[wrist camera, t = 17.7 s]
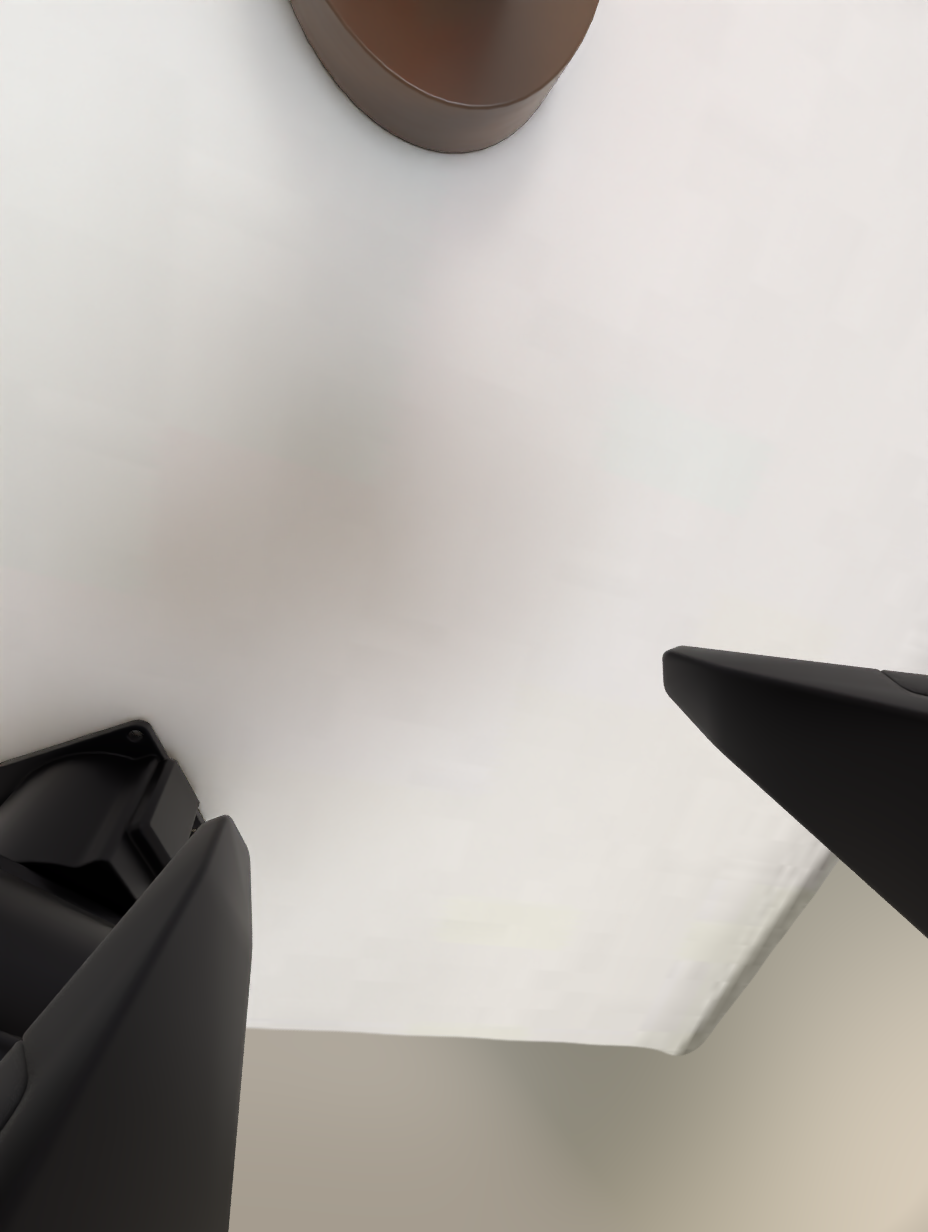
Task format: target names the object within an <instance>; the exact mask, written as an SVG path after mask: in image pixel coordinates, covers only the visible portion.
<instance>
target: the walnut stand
mask: <svg viewBox="0 0 928 1232" xmlns="http://www.w3.org/2000/svg"><path fill="white" fill-rule="evenodd" d="M290 2H291V5H292V8H293V10H294V13H295V15H296V17H297V19H298V21H299V23H300V25H301V27H302V29H303V31H304V33H305V35H306V37H307V39H308V41H309V43H310V44H311V46H312V47H313V49H314V51H315V52H316V54H317V56H318V57H319V59H320V61H321V62H322V64H323V65H324V67H325V68H326V70H327V71H328V72H329V74H330V75H331V76H332V78H333V79H334V80H335V82H336V83H337V84H338V86H339V87H340V88H341V89H342V90H343V91H344V92H345V94H346V95H347V96H348V97H349V98H350V99H351V100H352V101H353V102H354V103H355V104H356V106H357V107H359V108H360V109H361V110H362V111H363V112H364V113H365V114H367V115H368V116H369V117H370V118H371V119H372V120H373V121H375V122H376V123H377V124H379V125H380V126H382V127H383V128H385V129H386V130H388V131H389V132H391V133H392V134H393V135H395V136H397V137H399V138H401V139H403V140H405V141H407V142H409V143H411V144H414V145H417V146H420V147H423V148H426V149H429V150H434V151H441V152H447V153H463V152H470V151H475V150H481V149H484V148H487V147H489V146H492V145H494V144H497V143H499V142H500V141H502V140H504V139H505V138H507V137H509V136H510V135H512V134H513V133H514V132H516V131H517V130H518V129H519V128H520V127H521V126H522V125H524V124H525V123H526V122H527V121H528V119H529V118H530V117H531V116H532V115H533V113H534V112H535V111H536V110H537V109H538V107H539V106H540V104H541V103H542V102H543V100H544V99H545V97H546V96H547V94H548V93H549V91H550V90H551V88H552V87H553V85H554V84H555V82H556V81H557V79H558V78H559V76H560V75H561V74H562V72H563V71H564V69H565V68H566V66H567V65H568V63H569V62H570V60H571V59H572V57H573V56H574V54H575V52H576V51H577V49H578V48H579V46H580V44H581V43H582V41H583V39H584V37H585V35H586V33H587V31H588V28H589V26H590V24H591V22H592V20H593V17H594V14H595V11H596V8H597V6H598V3H599V0H290Z"/></svg>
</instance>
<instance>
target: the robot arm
mask: <svg viewBox="0 0 928 1232" xmlns="http://www.w3.org/2000/svg"><path fill="white" fill-rule="evenodd" d="M662 661H663V682H664V688H665V690H666V692H667V694H668V695H669V697H670V698H671V699H672V700H673V701H674V702H675V703H676V704H677V705H678V706H679V708H680V709H681V710H682V711H683V712H684V713H685V714H686V715H687V716H688V717H689V719H690V720H691V721H692V722H693V723H694V724H695V725H696V726H697V727H698V728H699V729H700V731H701V732H702V733H703V734H704V735H705V736H706V737H707V738H708V739H709V740H710V741H711V742H712V743H713V744H714V745H715V746H716V747H717V748H718V749H719V750H720V751H721V752H722V753H723V754H724V755H725V756H726V757H727V758H728V759H729V760H731V761H732V762H733V763H734V764H735V765H736V766H737V767H738V768H739V769H740V770H742V771H743V772H744V773H745V774H746V775H747V776H748V777H749V778H750V779H752V780H753V781H754V782H755V783H756V784H757V785H758V786H759V787H760V788H762V789H763V790H764V791H765V792H766V793H767V794H768V795H769V796H770V797H772V798H773V799H774V800H775V801H776V802H777V803H778V804H779V805H780V806H782V807H783V808H784V809H785V810H786V811H787V812H788V813H789V814H790V815H791V816H793V817H794V818H795V819H796V820H797V821H798V822H799V823H800V824H801V825H803V826H804V827H805V828H806V829H807V830H808V831H809V832H810V833H811V834H813V835H814V836H815V837H816V838H817V839H818V840H819V841H820V842H821V843H823V844H824V845H825V846H826V847H827V848H828V849H829V850H830V851H831V852H833V853H834V854H835V855H836V856H837V857H838V858H839V859H840V860H841V861H842V862H844V863H845V864H846V865H847V866H848V867H849V868H850V869H851V870H853V871H854V872H855V873H856V874H857V875H858V876H859V877H860V878H861V879H862V880H864V881H865V882H866V883H867V884H868V885H869V886H870V887H871V888H872V889H874V890H875V891H876V892H877V893H878V894H879V895H880V896H881V897H882V898H884V899H885V900H886V901H887V902H888V903H889V904H890V905H891V906H892V907H893V908H895V909H896V910H897V911H898V912H899V913H900V914H901V915H902V916H903V917H905V918H906V919H907V920H908V921H909V922H910V923H911V924H912V925H913V926H915V927H916V928H917V929H918V930H919V931H920V932H921V933H922V934H923V935H925V936H926V937H927V938H928V675H922V674H913V673H904V672H896V671H888V670H882V671H879V670H878V669H871V668H863V667H854V666H846V665H838V664H830V663H821V662H813V661H805V660H797V659H789V658H780V657H772V656H764V655H756V654H748V653H739V652H731V651H723V650H715V649H706V648H698V647H690V646H678V647H676V648H673V649H670V650H668V651H666V652H665V653H664V654H663V658H662ZM134 730H137V731H140V732H141V733H142V734H143V735H142V736H136V735H134V734H133V733H132V731H134ZM198 807H199V800H198V799H197V797H196V795H195V793H194V791H193V790H192V788H191V786H190V784H189V782H188V781H187V779H186V777H185V775H184V773H183V772H182V770H181V768H180V766H179V764H178V763H177V761H176V760H174V759H172V758H169V757H168V755H167V753H166V751H165V750H164V748H163V746H162V744H161V743H160V741H159V739H158V737H157V735H156V734H155V732H154V730H153V728H152V726H151V725H150V724H149V723H147V722H145V721H142V720H135V721H131V722H127V723H124V724H121V725H118V726H115V727H112V728H109V729H106V730H102V731H99V732H96V733H93V734H90V735H87V736H84V737H81V738H77V739H74V740H71V741H68V742H65V743H62V744H59V745H55V746H52V747H49V748H46V749H43V750H40V751H37V752H34V753H30V754H27V755H24V756H21V757H18V758H15V759H12V760H8V761H5V762H2V763H0V1232H228V1229H229V1218H230V1217H229V1216H230V1206H231V1205H230V1204H231V1194H232V1182H233V1171H234V1159H235V1147H236V1136H237V1123H238V1113H239V1100H240V1088H241V1077H242V1065H243V1054H244V1042H245V1031H246V1019H247V1007H248V996H249V984H250V972H251V960H252V907H251V872H250V855H249V851H248V848H247V846H246V844H245V842H244V840H243V838H242V836H241V835H240V833H239V831H238V829H237V827H236V825H235V823H234V821H233V820H232V818H231V817H230V816H228V815H222V816H220V817H217V818H214V819H212V820H209V821H206V822H205V821H204V819H203V817H202V816H201V814H200V812H199V810H198ZM192 829H196V831H195V832H192V831H191V830H192Z"/></svg>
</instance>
